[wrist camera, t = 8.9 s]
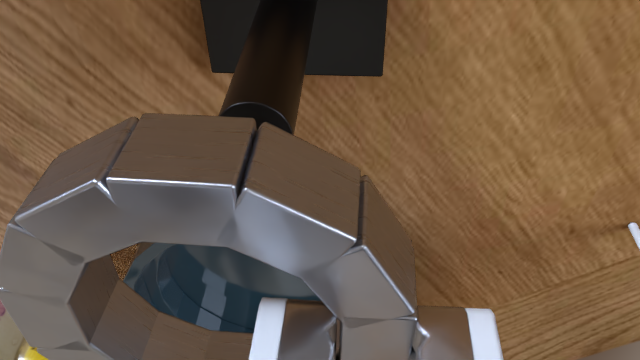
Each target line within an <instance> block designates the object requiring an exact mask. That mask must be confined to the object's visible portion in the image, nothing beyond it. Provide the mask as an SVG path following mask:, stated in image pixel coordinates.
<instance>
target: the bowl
mask: <svg viewBox="0 0 640 360" xmlns="http://www.w3.org/2000/svg"><path fill="white" fill-rule="evenodd" d="M123 282H124V283H126V284H127V285H128V286H129V287H130V288H132V289H133V290H134V291H135V292H136V293H138V294H139V295H140V296H141V297H142V298H144V299H145V300H146V301H147V302H148V303H150V304H151V305H152V306H153V307H155V308H156V309H157V310H158V311H161V312H163V313H166V314H169V315H171V316H174V317H177V318H179V319H182V320H185V321H187V322H190V323H193V324H195V325H198V326H201V327H203V328H206V329H209V330H214V331H228V332H242V333H254V329H255V324H256V318H257V313H258V308H259V304H260V302H261V299H262V297H267V298H287V299H298V300H313V301H321V300H320V299H319V298H318V297H317V295H316V294H315V293H314V292H313V291H312V290H311V289H310V288H309V287H308V285H307V284H306V283H305V282H304V281H303V280H302V279H301V278H299V277H296V276H294V275H292V274H289V273H287V272H285V271H282V270H280V269H278V268H275V267H273V266H270V265H268V264H266V263H263V262H261V261H259V260H256V259H254V258H252V257H249V256H247V255H245V254H242V253H240V252H238V251H235V250H233V249H230V248H228V247H218V246H201V245H185V244H169V243H152V242H140V243H139V244H138V246H137V249H136V251H135V254H134V256H133V258H132V260H131V263H130V265H129V268H128V270H127V272H126V275H125V277H124V279H123Z"/></svg>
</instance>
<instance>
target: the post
mask: <svg viewBox="0 0 640 360" xmlns="http://www.w3.org/2000/svg"><path fill="white" fill-rule="evenodd" d="M200 2H201V8H202V14H203V20H204V26H205V32H206V39H207V45H208V51H209V57H210V63H211V69H212V72H213V73H234V75H233V77H232V80H231V83H230V86H229V89H228V91H227V94H226V97H225V100H224V102H223V105H222V108H221V111H220V113H219V116H222V117H244V118H254V119H255V121H256V129H257V130H258V129H259V127H260V126H261V124H262V123H264V122H268V123H270V124H272V125H274V126H276V127H278V128H280V129H282V130H284V131H286V132H288V133H290V134H292V135H294V130H295V125H296V119H297V113H298V107H299V102H300V96H301V90H302V85H303V79H304V75H338V76H382V75H383V62H384V48H385V33H386V19H387V4H388V0H200Z"/></svg>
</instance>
